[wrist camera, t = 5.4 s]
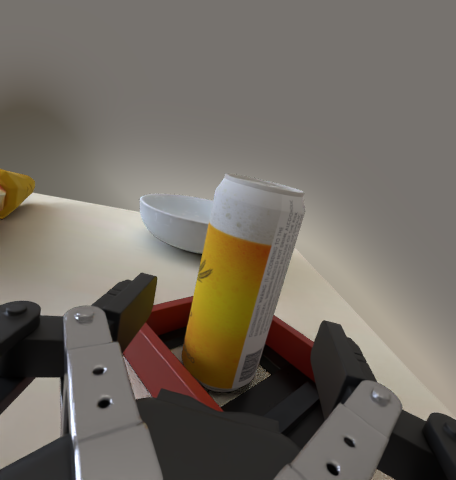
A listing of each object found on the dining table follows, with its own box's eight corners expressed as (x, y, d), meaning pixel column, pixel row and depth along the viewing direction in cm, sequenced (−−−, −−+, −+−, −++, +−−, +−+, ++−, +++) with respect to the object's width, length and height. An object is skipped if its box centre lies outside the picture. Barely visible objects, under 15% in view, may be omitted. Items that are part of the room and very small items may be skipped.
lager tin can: (214, 333, 27) (252, 176, 23) (267, 371, 24) (324, 195, 19) (163, 361, 22) (200, 168, 18) (221, 414, 19) (283, 192, 15)
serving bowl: (235, 234, 63) (242, 204, 61) (270, 276, 44) (282, 234, 42) (138, 220, 57) (143, 186, 55) (129, 261, 38) (135, 212, 36)
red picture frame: (119, 349, 22) (124, 311, 21) (225, 315, 30) (232, 286, 29) (272, 572, 12) (296, 518, 11) (370, 430, 20) (388, 392, 19)
